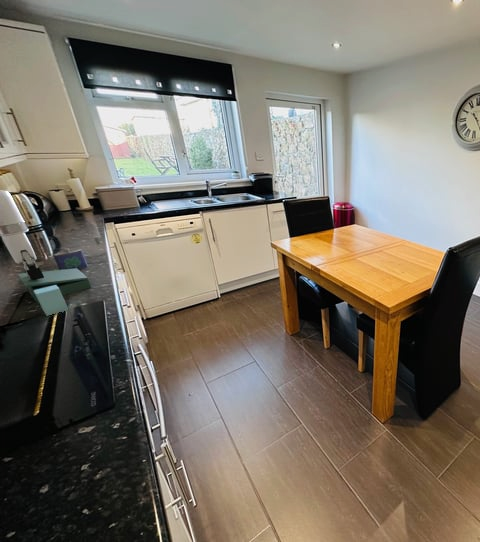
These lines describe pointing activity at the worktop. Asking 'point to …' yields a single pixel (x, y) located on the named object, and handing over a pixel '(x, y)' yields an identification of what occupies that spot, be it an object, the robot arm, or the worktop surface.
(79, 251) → the purple box
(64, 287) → the green open tray
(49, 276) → the bin lid
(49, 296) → the pale green block
